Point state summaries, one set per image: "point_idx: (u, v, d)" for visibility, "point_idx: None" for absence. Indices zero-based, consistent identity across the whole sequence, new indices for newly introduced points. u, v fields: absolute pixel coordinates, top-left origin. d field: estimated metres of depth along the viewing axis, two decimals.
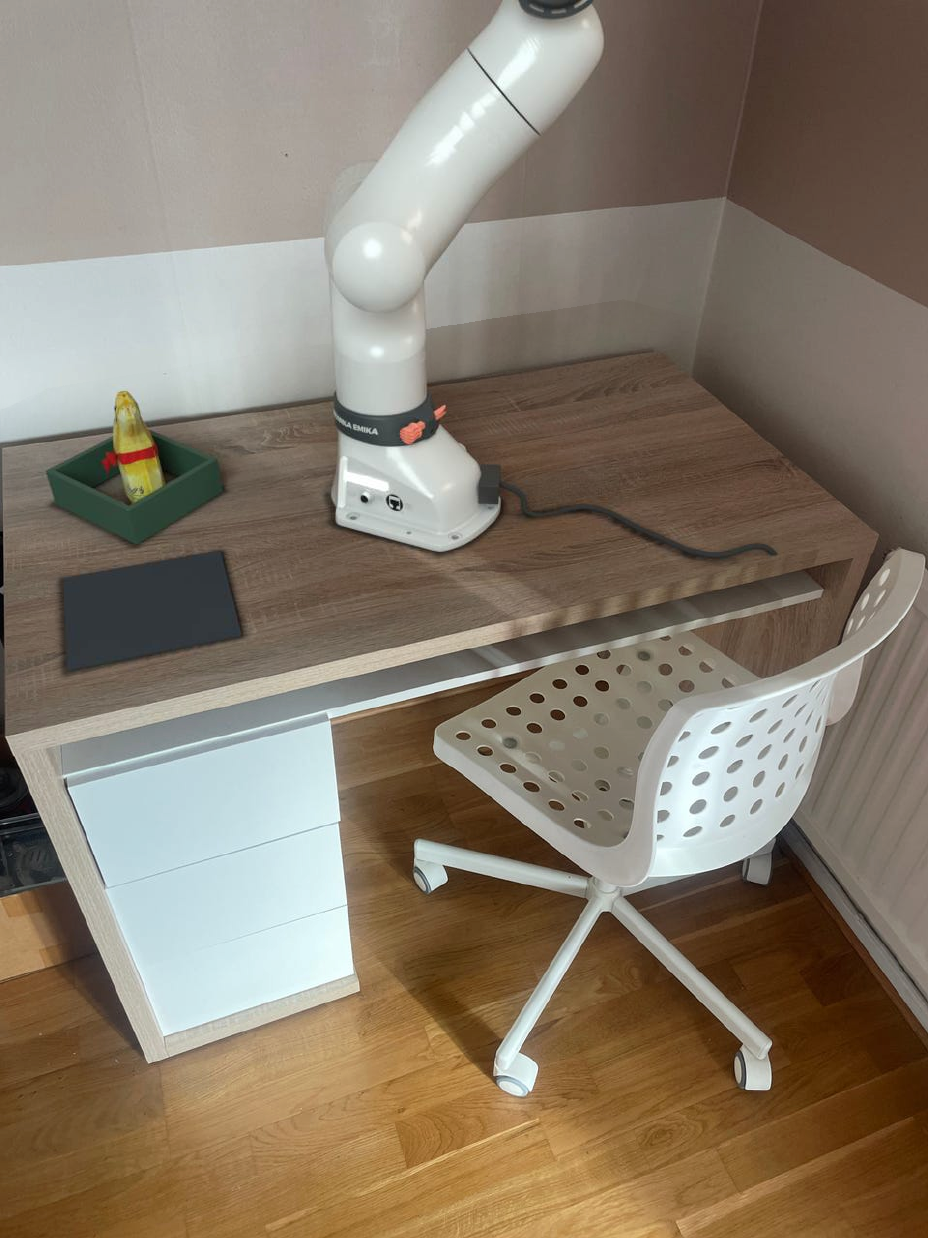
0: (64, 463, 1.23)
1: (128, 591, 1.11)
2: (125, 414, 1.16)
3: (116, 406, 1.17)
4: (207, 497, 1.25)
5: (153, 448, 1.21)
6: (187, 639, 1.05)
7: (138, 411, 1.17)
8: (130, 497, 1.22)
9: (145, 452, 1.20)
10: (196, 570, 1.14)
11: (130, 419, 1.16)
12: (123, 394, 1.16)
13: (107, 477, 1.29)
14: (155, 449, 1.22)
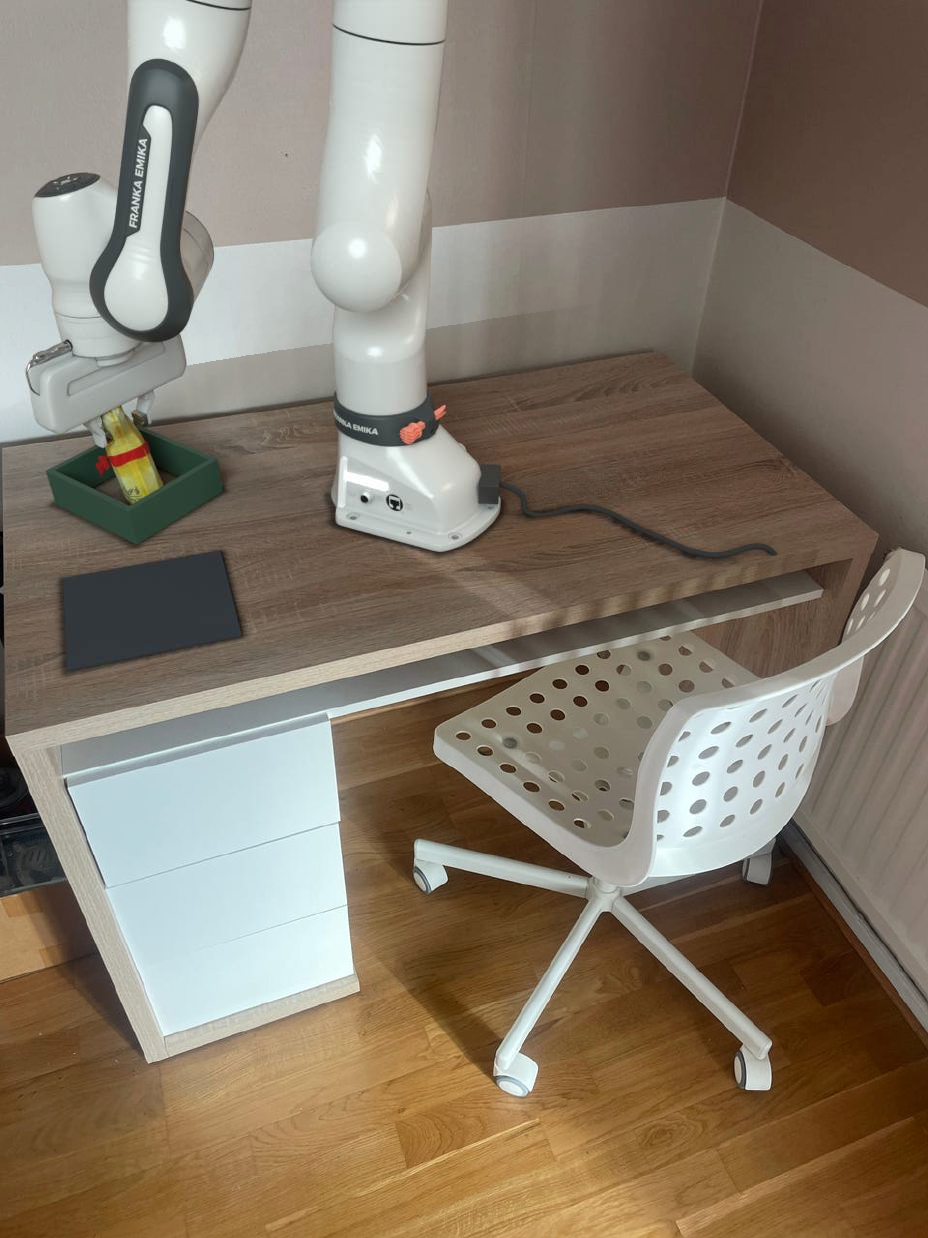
0: (64, 463, 1.23)
1: (128, 591, 1.11)
2: (109, 417, 1.15)
3: None
4: (207, 497, 1.25)
5: (144, 447, 1.20)
6: (187, 639, 1.05)
7: (122, 412, 1.16)
8: (127, 498, 1.22)
9: (135, 452, 1.20)
10: (196, 570, 1.14)
11: (114, 422, 1.15)
12: None
13: (107, 477, 1.29)
14: (145, 447, 1.21)
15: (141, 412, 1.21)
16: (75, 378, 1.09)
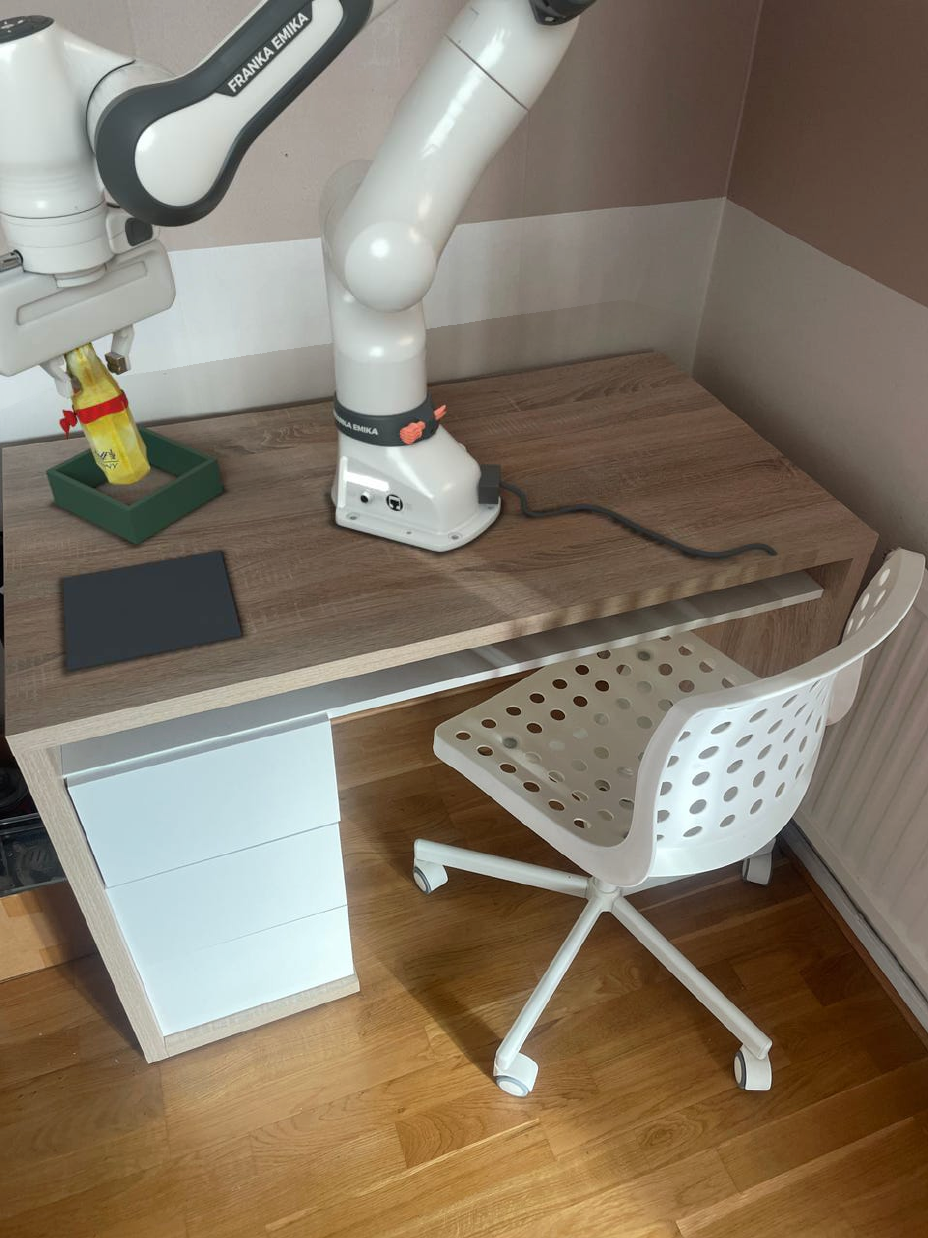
0: (64, 463, 1.23)
1: (128, 591, 1.11)
2: (75, 357, 0.88)
3: None
4: (207, 497, 1.25)
5: (121, 399, 0.94)
6: (187, 639, 1.05)
7: (92, 351, 0.90)
8: (100, 465, 0.95)
9: (110, 405, 0.93)
10: (196, 570, 1.14)
11: (81, 363, 0.89)
12: None
13: None
14: (123, 399, 0.94)
15: (117, 354, 0.94)
16: (27, 301, 0.83)
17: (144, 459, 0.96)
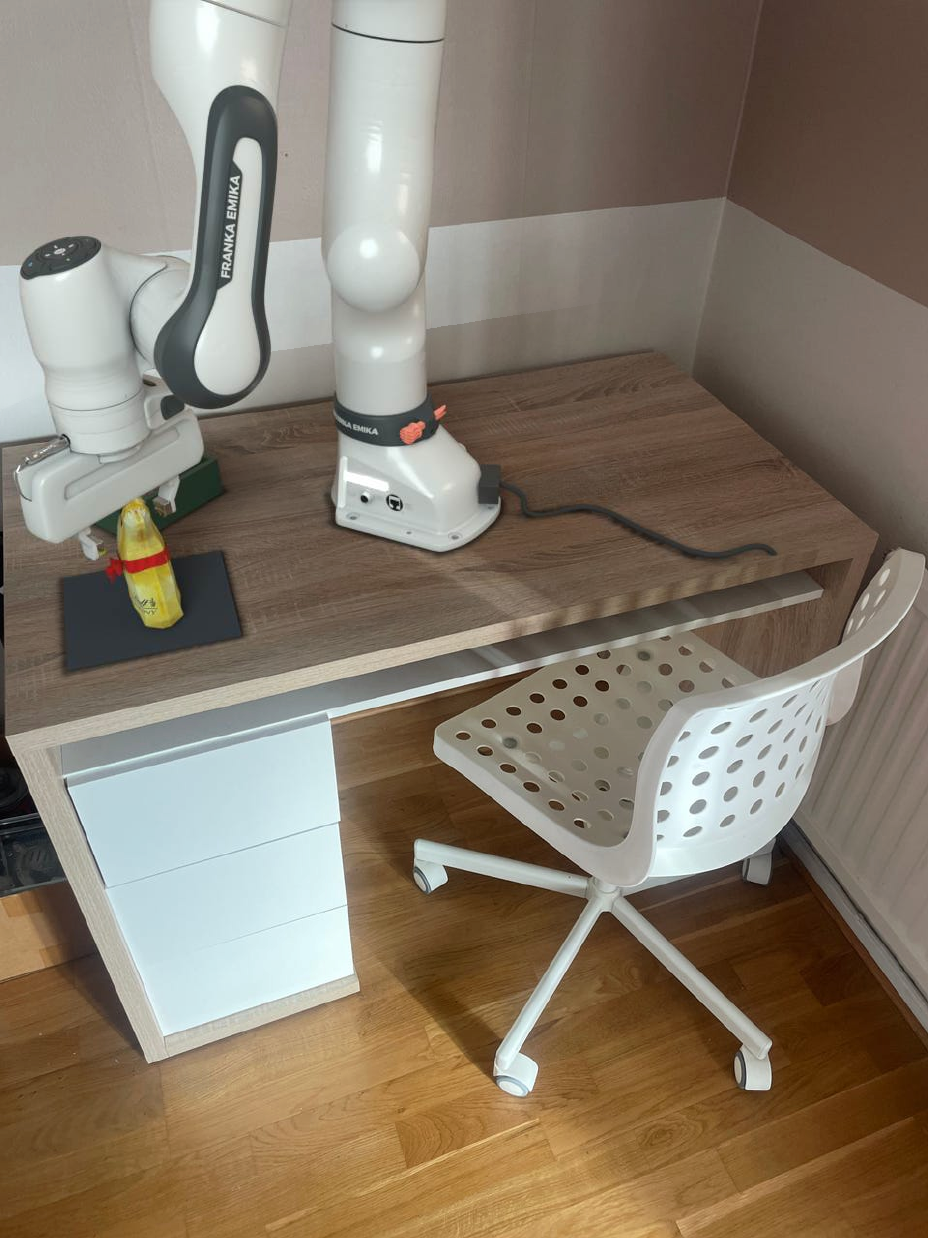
0: None
1: (128, 591, 1.11)
2: (134, 519, 0.98)
3: (122, 509, 0.99)
4: (207, 497, 1.25)
5: (165, 553, 1.04)
6: (187, 639, 1.05)
7: (148, 513, 1.00)
8: (138, 609, 1.05)
9: (156, 558, 1.03)
10: (196, 570, 1.14)
11: (139, 524, 0.99)
12: None
13: None
14: (167, 553, 1.04)
15: (164, 499, 1.05)
16: (74, 479, 0.92)
17: (179, 607, 1.06)
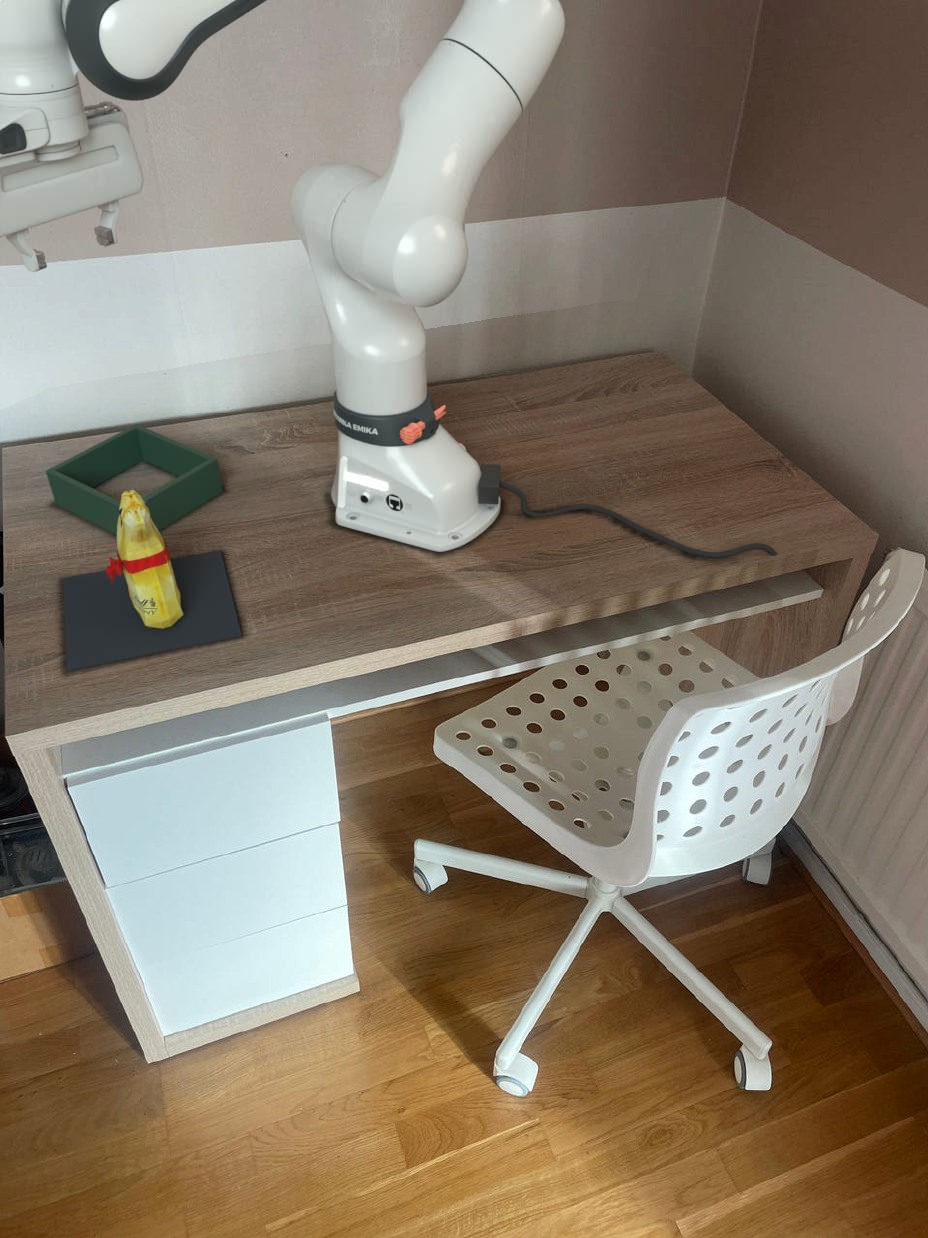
0: (64, 463, 1.23)
1: (128, 591, 1.11)
2: (133, 519, 0.98)
3: (122, 509, 0.99)
4: (207, 497, 1.25)
5: (165, 553, 1.04)
6: (187, 639, 1.05)
7: (148, 513, 1.00)
8: (138, 609, 1.05)
9: (156, 558, 1.03)
10: (196, 570, 1.14)
11: (138, 524, 0.99)
12: (130, 495, 0.99)
13: (107, 477, 1.29)
14: (167, 553, 1.04)
15: None
16: None
17: (179, 607, 1.06)
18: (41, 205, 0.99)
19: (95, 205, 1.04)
